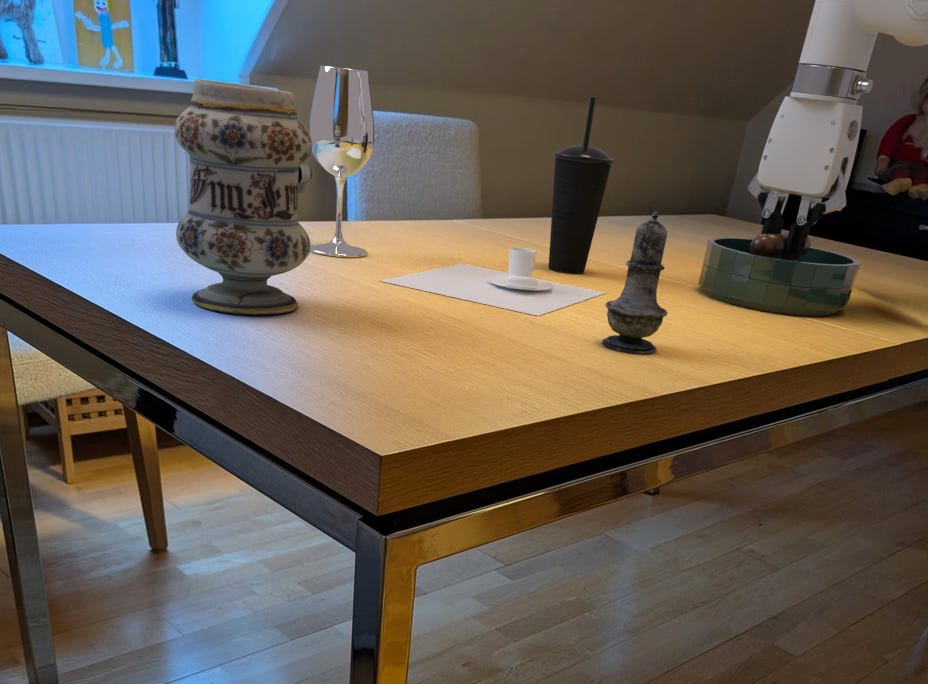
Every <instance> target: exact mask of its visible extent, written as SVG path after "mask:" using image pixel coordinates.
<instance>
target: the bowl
mask: <svg viewBox="0 0 928 684" xmlns="http://www.w3.org/2000/svg"><path fill="white" fill-rule="evenodd" d="M753 239H754V238H747V237H736V236H735V237H734V236H732V237H729V236H721V237H712V238H709V239H708V240H707V244H706V249H705V253H704V256H703V262H702V266H701V269H700V270H701V271H700V275H699V279H698V285H699V286H700V287H701V288H702V289H703V292H704V294H705V295H707V296H709V297H711V298H714V299H715V300H717V301H721V302H724V303H727V302H728V303H727V304H731V305H735V306H738V305H739V306H738V307H742V308H743V307H744V308H748V309H752V310H757V311H763V312H770V313H775V314H783V315H792V316H802V317H803V316H804V317H828V316H832V315H835V314H837V313H838V311H839V310H840V311H841V310H844V309H846V308H847V307H848V304H849V301H850V297H851V295H852V292H853V289H854V284H855V282H856V279H857V275H858V274H859V273H858V272H859V270H860V267H861V262H860V261H859V260H858V259H856V258H854V257H853V256H849V255H845V254H842V253H839V252H836V251H835V252H834V251H831V250H827V249H822V248H817V247H812V246H810V249H809V251H808V252H807V253H806V254H805V255H804V256H801V257H799V258H798V259H790V260H787V259H783V258H771V257H765V256H760V255H755V254H751V252H750V244H751V242H752V240H753Z"/></svg>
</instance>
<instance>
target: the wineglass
mask: <svg viewBox="0 0 928 684" xmlns="http://www.w3.org/2000/svg"><path fill="white" fill-rule="evenodd" d="M374 118H375V117H374V109H373V100H372V91H371V85H370V77H369V71H368V70H362V69H355V68H354V69H353V68H347V67H337V66H329V65H320V66H319V71H318V76H317V79H316V84H315V89H314V94H313V100H312V105H311V110H310V118H309V126H308V127H309V128H308V131H309V133H310V136H311V139H312V151H311V154H312V155H313V157H314V158H315V159H314V160H316V162H317V163H318V164H319V166H321V168H322V169H323V170H325V171H326V172H327V173H328V174H330V175H332V176H333V177H334V180H335V186H336V213H335V214H336V215H335V231H334V236H333V238H332V239H331V240H329V241H328V242H326V243H315V244H310V251H309V252H312V253H315V254H316V255H317V254H318V255H321V256H329V257H334V258H351V259H352V258H363V257H366V256H367V255H368V251H367V250H366V249H364V248H361V247H358V246H352V245H350V244H348V243H347V242H346V241H345V239H344V237H343V230H342V227H343V226H342V225H343V224H342V222H343V199H344V191H345V190H344V189H345V183H346V181H347V178H349V177H352V176H354V175H355V174H357V173H359V172H360V171H361V170H362V169H363V168H364V167H365V166H366V165H367V164H368V162H369V160H370V159H371V158H372V157H371V156H372V154H373V151H374V145H375V119H374Z"/></svg>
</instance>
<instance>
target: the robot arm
mask: <svg viewBox="0 0 928 684" xmlns="http://www.w3.org/2000/svg"><path fill="white" fill-rule="evenodd" d="M879 33H881V34H884V35H885V34H886V35H889V36H893V38H894V39H895V40H896V41H898V42H899V43H900V44H902V45H904V46H908V47H922V46H923V47H924V46H926V45H928V0H814V5H813V8H812V12H811V16H810V20H809V24H808V26H807V31H806V34H805V39H804V42H803V46H802V50H801V54H800V56H799V60H798V64H797V69H796V71H795V76H794V79H793V82H792V87H791V91H790V94H789V96H784V98H783V100H782V103H781V104H780V106H779V108H778V112H777V113H776V116H775V118H774V120H773V123H772V125H771V128H770V131H769V134H768V136H767V140H766V143H765V146H764V148H763V151H762V155H761V159H760V162H759V166H758V171H757V172H756V173H755V175H754V177H753V178H752V179H751V181H750V182H749V183H748V185H747V190H748V192H750V194H751V195H753V197H755V199H757V202H758V204H759V206H760V208H761V210H762V213H761V214H762V218H764V222H763V225H762V229H761V232H760V235H761V234H782V231H783V228H784V224H785V219H783V218H782V215H783V213H784V210H785V207H786V204H787V202H788V198H789V196H790V195H795V196H801V199H800V204H799V208H798V213H797V216H796V221H795V223H792V224H791V225H790V227H789V230H788V233H787V234H788V237H787V240H786V244H785V249H784V251H783V254H782V257H783V259H787V260H790V259H798V258H799V257H800V254H801V253H802V252H803V250H804V247H805V244H806V240H807V237H809V233H810V230H811V227H812V226H815V225H816V223H817V222H818V221H819V220H821V219H822V218H823V217H825V216H826V215H827V214H830V213H833V212H835V211H839V210H841V209H844V208H845V207H846V206H847V194H846V190H847V187H848V183H849V180H850V178H851V173H852V169H853V165H854V162H855V157H856V152H857V149H858V144H859V139H860V133H861V126H862V117H863V107H864V106H863V105H857V103H858V100H860V99H861V95H863V94H870V93H871V91H872V88H873V85H874V81H873V79H868V78H867V75H868V73H867V69H868V68H869V67H868V66H869V63H870V60H871V57H872V55H873V54H872V53H873V51H874V47H875V44H876V40H877V37H878V34H879ZM823 198H824V199H828V200H826V201H823Z"/></svg>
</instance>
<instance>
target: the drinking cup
mask: <svg viewBox="0 0 928 684" xmlns="http://www.w3.org/2000/svg"><path fill="white" fill-rule="evenodd" d="M596 100H597V97H595V96H594V97H593V96H590V98H589V105H588V111H587V117H586V124H585V130H584V136H583V143H582V144H573V145H569V146H566V147H564V148H562V149H560V150H558V151H555V152H553V158H554V173H553V190H552V205H551V222H550V223H551V224H550V235H549V253H548V270H551V271H554V272H556V273H557V272H558V273H563V274H571V275H582V274H584V273H585V271H586V267H587V263H588V259H589V255H590V251H591V247H592V243H593V238H594V235H595V231H596V227H597V222H598V219H599V214H600V212H601V207H602V204H603V199H604V195H605V191H606V187H607V183H608V179H609V174H610V171H611V167H612V165H614V163H615V159H614V158H611V157H610V156H609V155H608V154H607V153H606V152H605V151H604V150H602V149H600V148H598V147H596V146H593V145H589V144H590V139H591V131H592V125H593V119H594V113H595V107H596V102H597V101H596Z"/></svg>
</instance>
